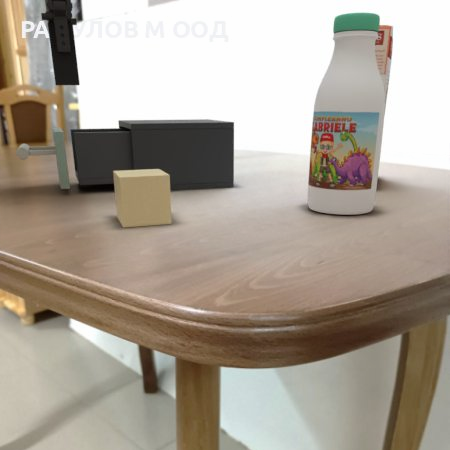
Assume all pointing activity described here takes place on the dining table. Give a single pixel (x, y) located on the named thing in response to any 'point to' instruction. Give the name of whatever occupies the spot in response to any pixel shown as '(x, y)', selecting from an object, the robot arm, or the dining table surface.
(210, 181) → the dark grey box
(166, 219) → the block
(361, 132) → the milk bottle
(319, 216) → the dining table surface
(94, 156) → the drawer
